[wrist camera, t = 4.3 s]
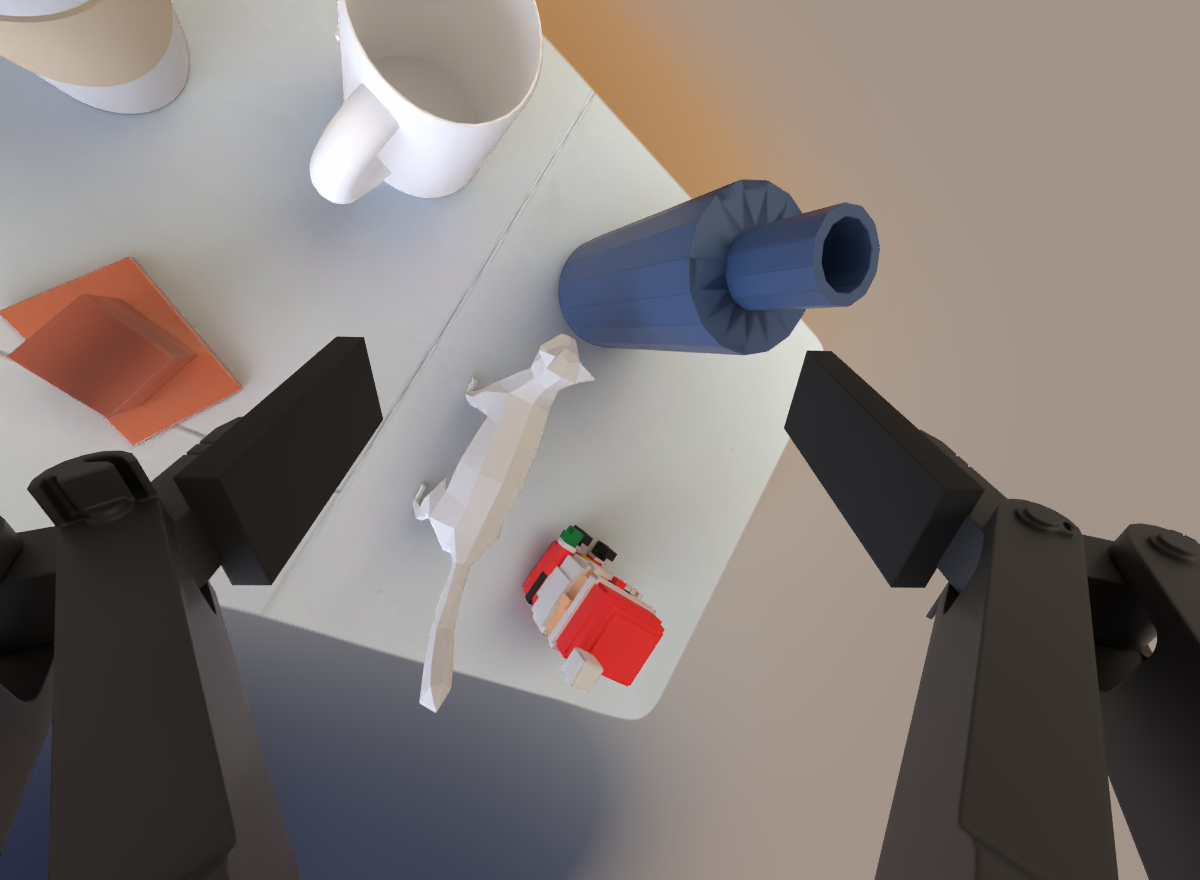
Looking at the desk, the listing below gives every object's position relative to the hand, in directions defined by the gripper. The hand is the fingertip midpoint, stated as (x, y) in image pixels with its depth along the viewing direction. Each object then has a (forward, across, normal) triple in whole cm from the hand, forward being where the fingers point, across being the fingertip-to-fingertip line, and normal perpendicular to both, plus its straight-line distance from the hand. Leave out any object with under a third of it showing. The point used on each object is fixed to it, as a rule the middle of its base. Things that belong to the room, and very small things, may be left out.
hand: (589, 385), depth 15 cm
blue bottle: (+24, +2, -4) cm, 25 cm away
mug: (+22, -12, +5) cm, 25 cm away
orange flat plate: (+12, -24, -5) cm, 27 cm away
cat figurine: (+16, -9, -14) cm, 23 cm away
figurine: (+15, -1, -25) cm, 29 cm away
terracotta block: (+11, -24, -4) cm, 27 cm away
